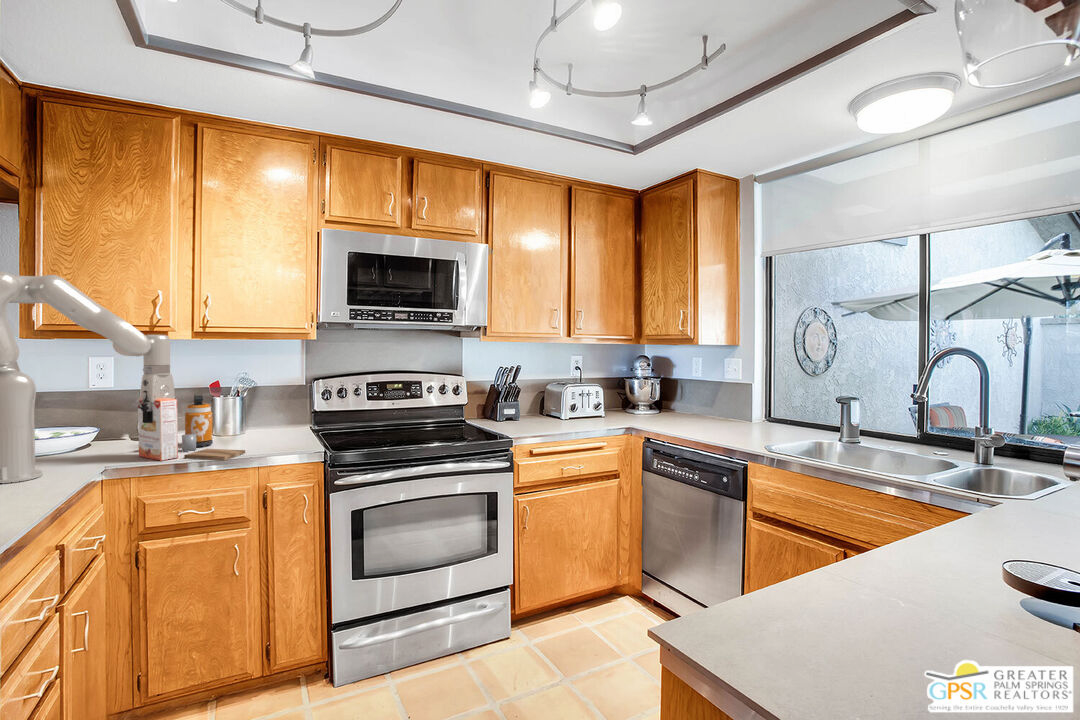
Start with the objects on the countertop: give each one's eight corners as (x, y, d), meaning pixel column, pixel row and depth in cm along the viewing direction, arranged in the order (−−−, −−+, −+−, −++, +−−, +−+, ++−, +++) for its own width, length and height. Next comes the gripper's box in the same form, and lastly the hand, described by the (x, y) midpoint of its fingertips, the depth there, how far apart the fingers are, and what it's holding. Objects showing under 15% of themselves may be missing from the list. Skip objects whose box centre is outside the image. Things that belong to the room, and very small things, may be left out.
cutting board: (224, 460, 186) (224, 456, 186) (184, 458, 188) (184, 455, 188) (245, 453, 197) (245, 450, 197) (207, 451, 199) (207, 448, 199)
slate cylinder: (190, 452, 198) (190, 436, 198) (179, 452, 198) (178, 435, 198) (199, 450, 202) (198, 434, 202) (188, 449, 203) (187, 433, 202)
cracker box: (137, 456, 189) (136, 397, 188) (156, 453, 194) (155, 395, 194) (159, 461, 183) (159, 399, 182) (178, 458, 188) (178, 398, 187)
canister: (186, 449, 203) (185, 396, 203) (184, 444, 212) (183, 393, 212) (213, 446, 209) (213, 394, 208) (210, 441, 218) (210, 392, 217)
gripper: (146, 372, 178) (146, 425, 179) (186, 369, 196) (186, 417, 196) (125, 371, 179) (125, 424, 180) (166, 368, 196) (167, 417, 197)
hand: (157, 420), depth 188 cm, fingers closed on cracker box, 7 cm apart
